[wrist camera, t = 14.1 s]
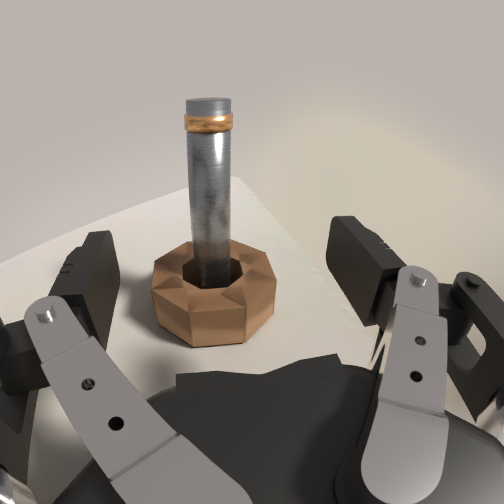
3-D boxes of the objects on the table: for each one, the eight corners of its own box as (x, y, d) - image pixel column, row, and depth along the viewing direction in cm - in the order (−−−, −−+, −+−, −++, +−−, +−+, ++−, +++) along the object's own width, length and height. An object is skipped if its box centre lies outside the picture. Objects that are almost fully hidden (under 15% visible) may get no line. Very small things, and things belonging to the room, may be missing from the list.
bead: (156, 349, 19) (148, 315, 17) (161, 275, 26) (156, 243, 24) (281, 338, 20) (286, 303, 19) (257, 268, 27) (259, 236, 25)
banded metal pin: (197, 318, 22) (183, 102, 14) (195, 294, 24) (184, 98, 16) (234, 314, 22) (235, 100, 15) (230, 291, 24) (230, 97, 17)
